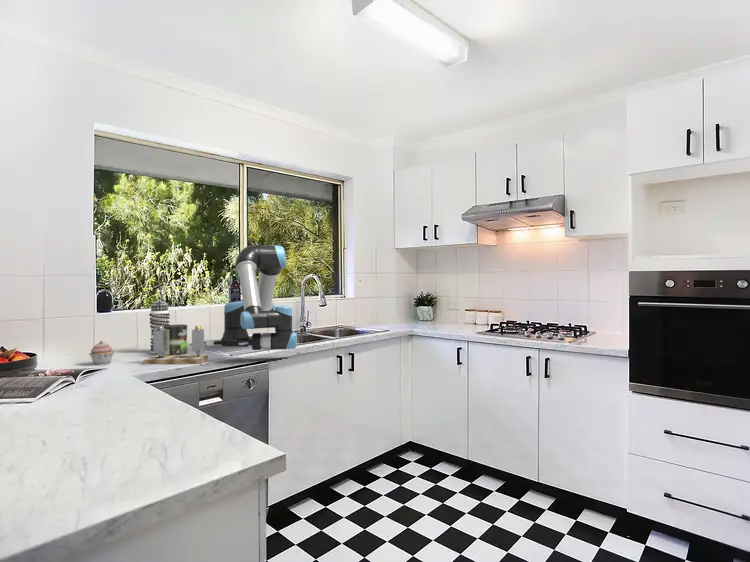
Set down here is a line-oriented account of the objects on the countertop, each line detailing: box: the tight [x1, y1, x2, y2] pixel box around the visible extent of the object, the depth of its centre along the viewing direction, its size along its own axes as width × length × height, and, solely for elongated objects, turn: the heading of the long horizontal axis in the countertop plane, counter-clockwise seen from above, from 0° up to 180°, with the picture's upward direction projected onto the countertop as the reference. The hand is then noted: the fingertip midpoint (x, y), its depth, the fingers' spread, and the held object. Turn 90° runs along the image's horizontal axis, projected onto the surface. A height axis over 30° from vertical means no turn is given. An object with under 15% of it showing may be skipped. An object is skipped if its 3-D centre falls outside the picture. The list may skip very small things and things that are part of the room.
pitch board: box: [142, 354, 209, 365], centre depth 195 cm, size 24×10×2 cm, turn 96°
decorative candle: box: [148, 300, 171, 354], centre depth 220 cm, size 9×9×25 cm
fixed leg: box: [153, 326, 167, 358], centre depth 194 cm, size 4×4×14 cm
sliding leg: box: [191, 325, 205, 356], centre depth 195 cm, size 4×4×13 cm
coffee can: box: [163, 324, 188, 356], centre depth 212 cm, size 10×10×14 cm
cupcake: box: [88, 340, 115, 365], centre depth 192 cm, size 9×9×10 cm
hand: (206, 342), depth 195 cm, fingers closed
